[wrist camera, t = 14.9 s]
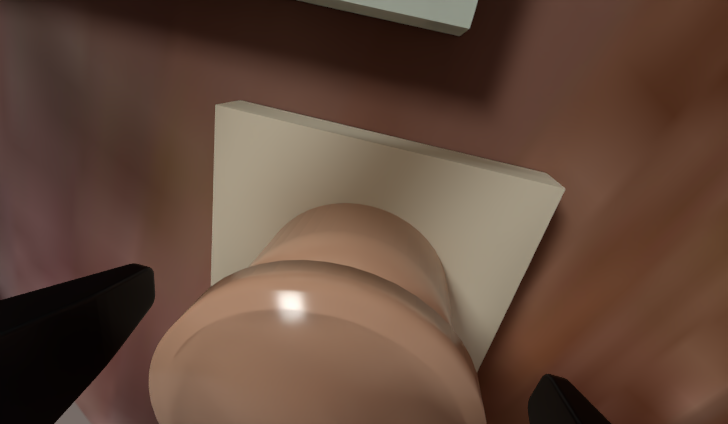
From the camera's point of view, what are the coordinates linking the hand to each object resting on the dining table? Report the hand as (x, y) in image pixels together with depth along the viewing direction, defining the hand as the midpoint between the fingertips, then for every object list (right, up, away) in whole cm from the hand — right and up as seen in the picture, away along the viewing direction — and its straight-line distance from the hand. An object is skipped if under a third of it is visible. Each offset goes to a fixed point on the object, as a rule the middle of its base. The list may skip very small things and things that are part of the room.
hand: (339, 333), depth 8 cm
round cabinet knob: (0, +1, +2) cm, 2 cm away
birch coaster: (0, +1, +3) cm, 3 cm away
